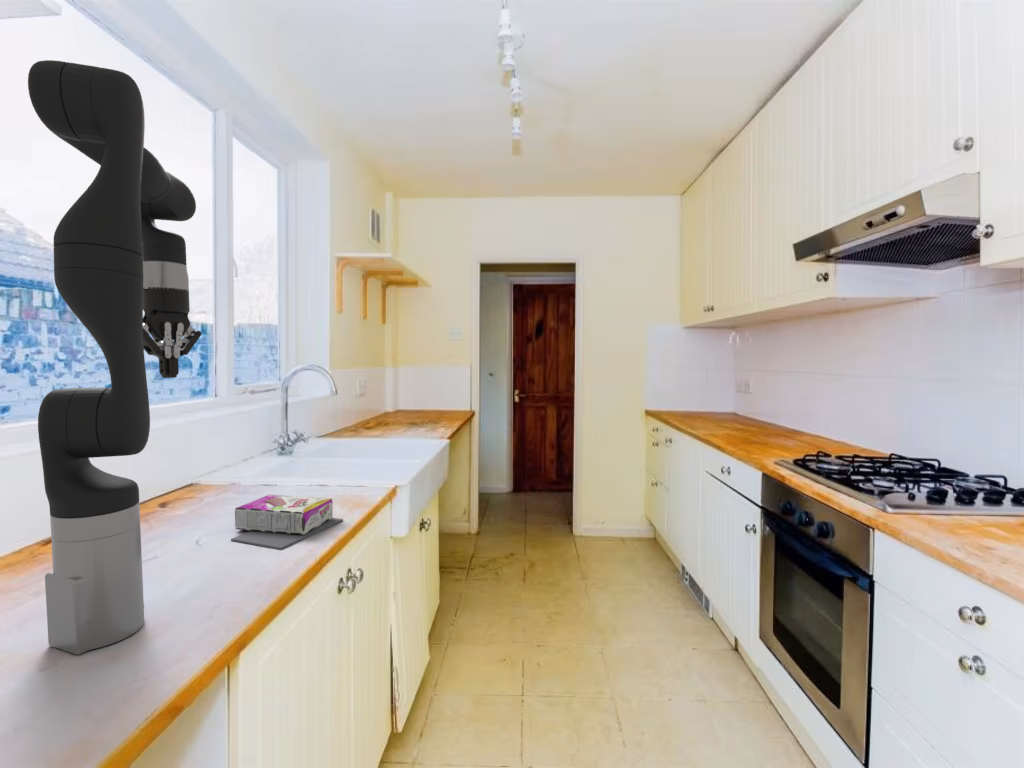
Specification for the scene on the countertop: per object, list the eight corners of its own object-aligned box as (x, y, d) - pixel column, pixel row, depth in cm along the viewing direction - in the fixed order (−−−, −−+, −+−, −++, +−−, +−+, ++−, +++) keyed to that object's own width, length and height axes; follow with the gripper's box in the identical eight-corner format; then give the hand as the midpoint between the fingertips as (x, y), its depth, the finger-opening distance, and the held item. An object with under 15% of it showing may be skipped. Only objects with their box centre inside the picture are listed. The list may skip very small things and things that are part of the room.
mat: (280, 549, 98) (280, 547, 98) (231, 540, 102) (230, 538, 102) (343, 520, 114) (343, 519, 114) (297, 514, 119) (297, 512, 119)
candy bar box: (268, 492, 118) (333, 497, 114) (269, 514, 118) (333, 519, 115) (233, 506, 107) (303, 512, 103) (233, 530, 107) (304, 536, 104)
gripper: (184, 292, 105) (187, 376, 106) (115, 284, 93) (120, 379, 94) (211, 291, 102) (214, 376, 103) (143, 282, 90) (147, 379, 91)
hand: (169, 377), depth 99 cm, fingers closed
